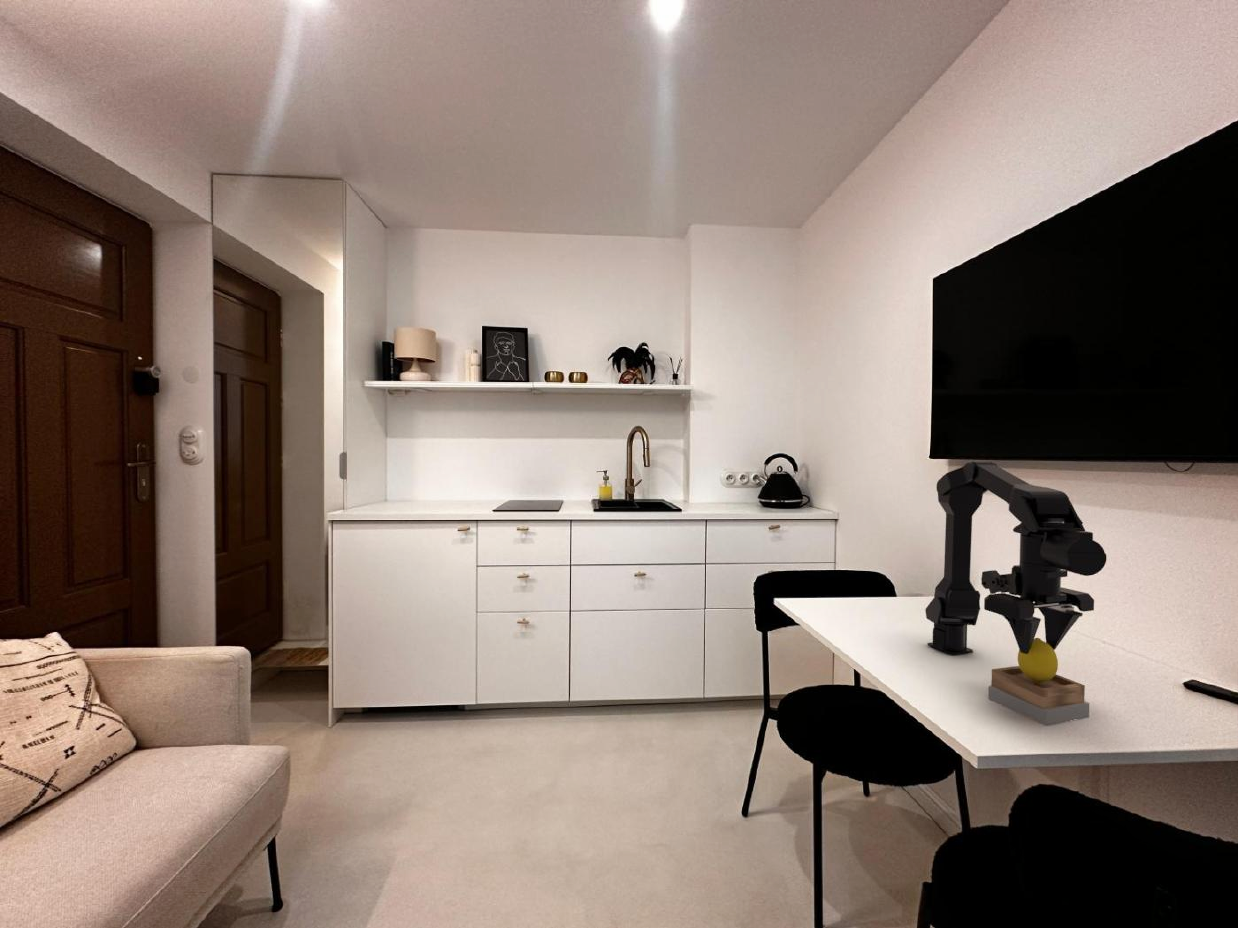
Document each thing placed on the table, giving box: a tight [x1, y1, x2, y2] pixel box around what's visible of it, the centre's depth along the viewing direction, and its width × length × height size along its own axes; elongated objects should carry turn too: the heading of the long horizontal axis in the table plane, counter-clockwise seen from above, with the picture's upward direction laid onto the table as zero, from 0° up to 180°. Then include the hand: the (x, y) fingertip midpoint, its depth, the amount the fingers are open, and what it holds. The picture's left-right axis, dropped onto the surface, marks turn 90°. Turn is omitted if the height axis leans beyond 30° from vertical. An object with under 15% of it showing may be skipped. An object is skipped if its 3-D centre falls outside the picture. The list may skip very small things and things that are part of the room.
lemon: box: [1017, 637, 1059, 684], centre depth 94 cm, size 6×6×8 cm
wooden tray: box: [990, 665, 1086, 709], centre depth 94 cm, size 9×9×3 cm
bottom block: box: [987, 685, 1090, 727], centre depth 94 cm, size 10×10×3 cm
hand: (1037, 651), depth 94 cm, fingers open, 6 cm apart
